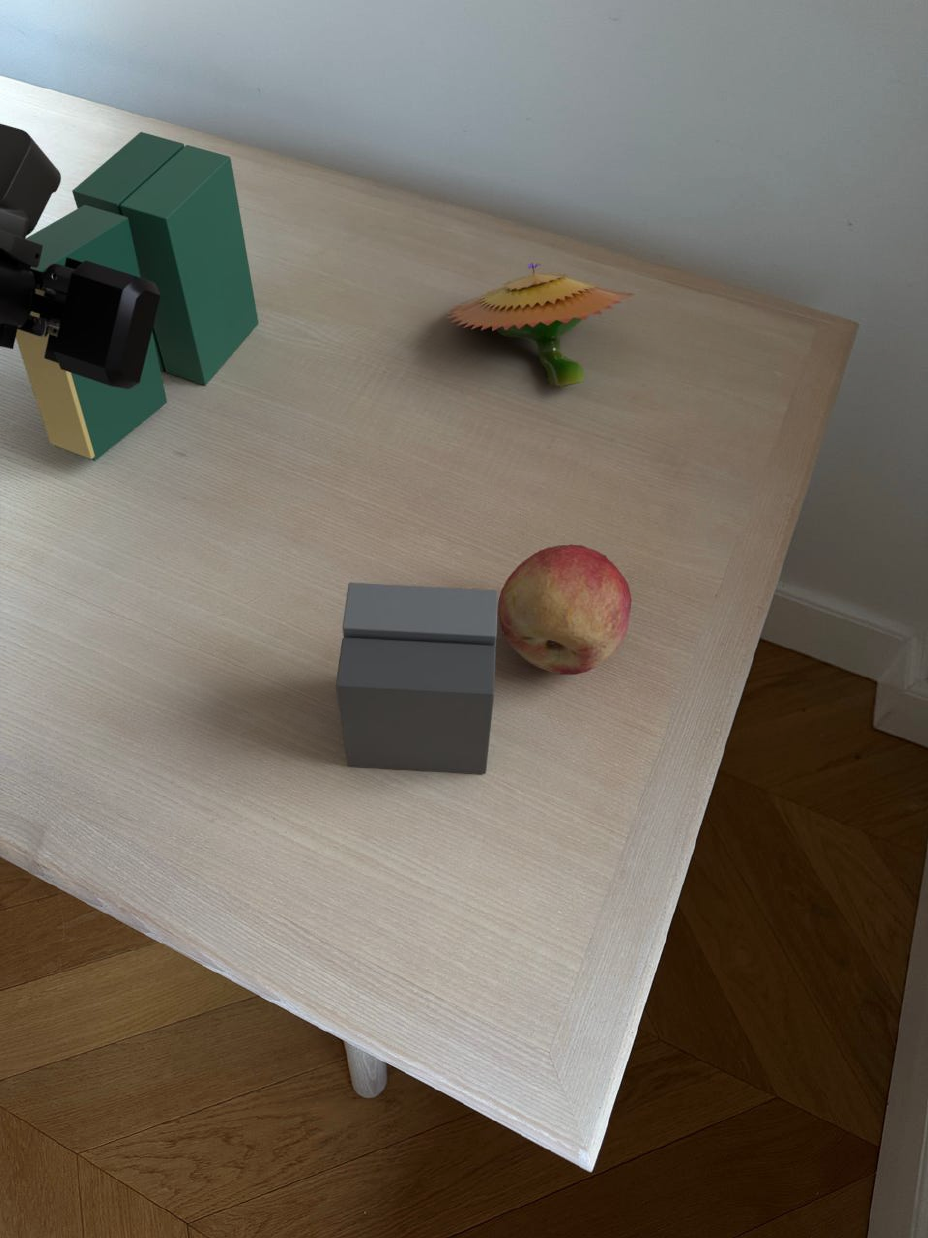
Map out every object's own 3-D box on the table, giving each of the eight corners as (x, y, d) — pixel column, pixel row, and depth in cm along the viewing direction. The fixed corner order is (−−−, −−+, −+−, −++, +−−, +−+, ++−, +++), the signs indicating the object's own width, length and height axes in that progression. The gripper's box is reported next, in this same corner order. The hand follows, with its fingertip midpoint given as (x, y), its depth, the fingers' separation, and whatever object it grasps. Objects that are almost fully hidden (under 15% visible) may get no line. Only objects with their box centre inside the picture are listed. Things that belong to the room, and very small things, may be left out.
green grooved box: (205, 385, 76) (166, 218, 64) (124, 358, 77) (71, 190, 66) (259, 323, 80) (230, 156, 69) (181, 298, 82) (140, 131, 70)
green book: (92, 464, 69) (36, 273, 59) (51, 448, 70) (-11, 258, 60) (168, 402, 74) (128, 217, 64) (128, 388, 75) (84, 203, 65)
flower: (674, 345, 80) (661, 232, 76) (597, 397, 70) (578, 271, 67) (515, 356, 88) (496, 256, 85) (428, 404, 79) (403, 293, 75)
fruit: (471, 645, 63) (476, 566, 56) (552, 577, 66) (566, 495, 60) (565, 723, 60) (582, 649, 53) (645, 647, 63) (670, 569, 57)
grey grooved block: (347, 767, 58) (334, 680, 50) (358, 675, 62) (348, 581, 54) (485, 774, 58) (494, 689, 50) (489, 682, 61) (498, 589, 54)
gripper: (94, 146, 48) (246, 229, 63) (-213, 58, 52) (0, 156, 67) (43, 375, 50) (202, 403, 65) (-248, 275, 54) (-35, 323, 69)
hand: (91, 316), depth 66 cm, fingers closed on green book, 4 cm apart
